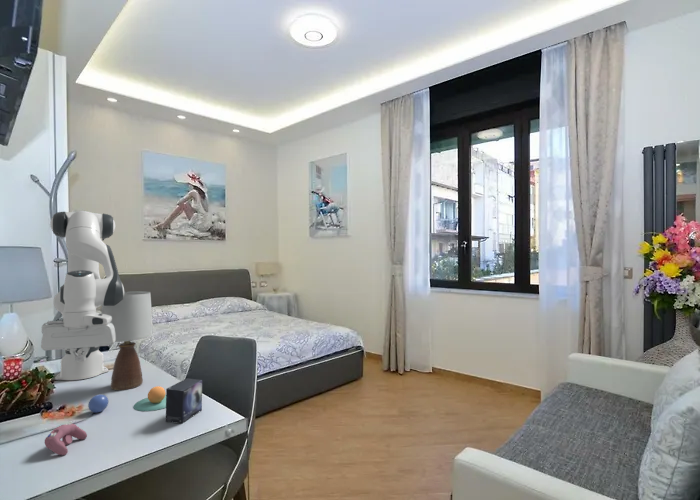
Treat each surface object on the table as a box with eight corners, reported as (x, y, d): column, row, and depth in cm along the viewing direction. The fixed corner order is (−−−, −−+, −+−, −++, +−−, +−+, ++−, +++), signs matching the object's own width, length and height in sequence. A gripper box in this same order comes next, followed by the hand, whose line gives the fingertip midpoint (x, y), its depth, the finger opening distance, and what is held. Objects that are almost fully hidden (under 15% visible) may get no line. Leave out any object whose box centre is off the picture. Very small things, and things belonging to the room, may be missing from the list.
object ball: (169, 396, 134) (154, 405, 133) (162, 382, 135) (147, 391, 133) (166, 398, 129) (150, 407, 127) (159, 384, 130) (142, 393, 128)
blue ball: (105, 389, 124) (115, 400, 127) (92, 392, 126) (102, 404, 128) (93, 402, 119) (104, 414, 122) (80, 406, 121) (91, 417, 123)
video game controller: (74, 444, 106) (62, 422, 105) (89, 436, 106) (78, 414, 106) (50, 463, 96) (37, 439, 96) (67, 454, 96) (54, 431, 96)
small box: (183, 424, 114) (183, 390, 114) (164, 422, 116) (164, 388, 116) (203, 410, 125) (203, 379, 125) (186, 408, 126) (186, 377, 126)
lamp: (87, 390, 143) (88, 294, 144) (131, 375, 161) (131, 290, 161) (121, 396, 137) (122, 296, 137) (163, 380, 154) (163, 292, 155)
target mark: (131, 401, 133) (131, 400, 133) (174, 392, 141) (174, 392, 141) (135, 414, 121) (135, 414, 121) (181, 404, 129) (181, 404, 129)
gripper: (37, 323, 117) (37, 367, 117) (112, 319, 124) (112, 360, 124) (45, 319, 123) (45, 361, 123) (117, 316, 130) (116, 355, 130)
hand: (79, 361), depth 123 cm, fingers closed
